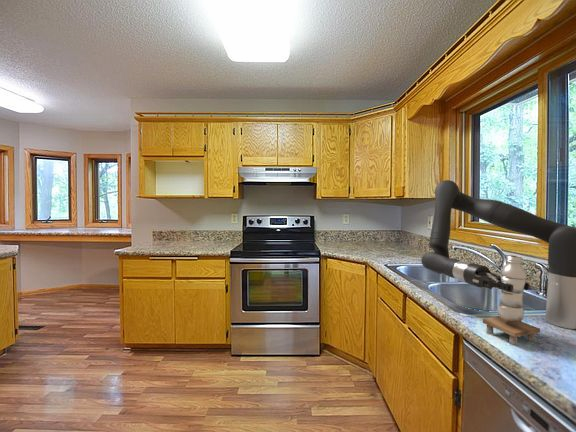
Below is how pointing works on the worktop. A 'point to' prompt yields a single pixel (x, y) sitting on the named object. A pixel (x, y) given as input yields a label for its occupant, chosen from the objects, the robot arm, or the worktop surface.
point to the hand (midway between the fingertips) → (520, 287)
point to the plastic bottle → (513, 301)
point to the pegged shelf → (511, 329)
